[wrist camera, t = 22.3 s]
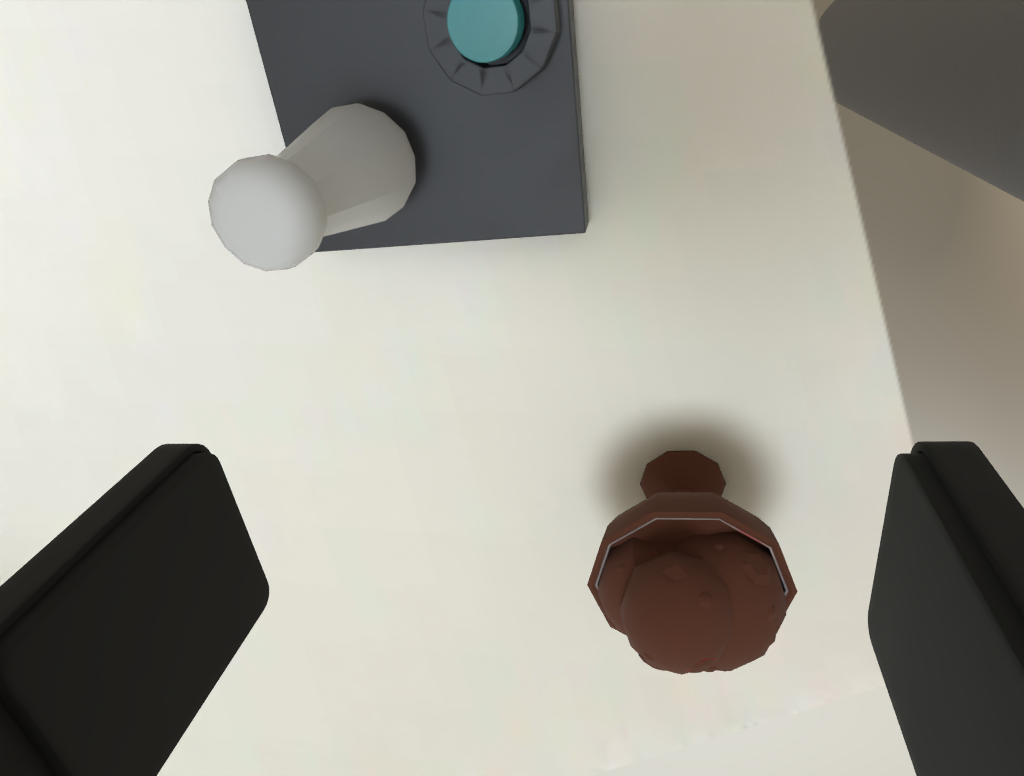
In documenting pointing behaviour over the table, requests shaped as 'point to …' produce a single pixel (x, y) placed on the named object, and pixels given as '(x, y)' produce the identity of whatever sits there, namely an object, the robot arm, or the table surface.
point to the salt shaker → (313, 188)
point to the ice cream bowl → (691, 572)
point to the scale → (440, 112)
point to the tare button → (485, 28)
